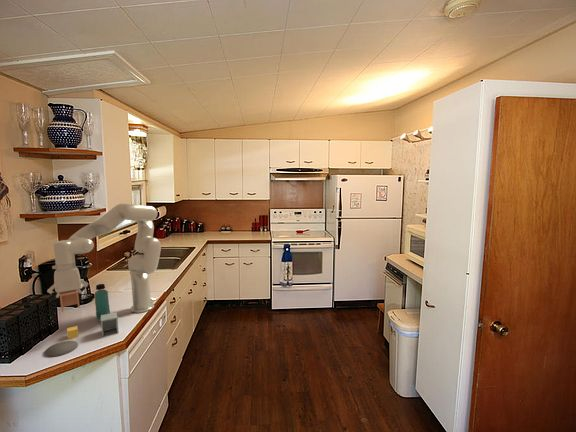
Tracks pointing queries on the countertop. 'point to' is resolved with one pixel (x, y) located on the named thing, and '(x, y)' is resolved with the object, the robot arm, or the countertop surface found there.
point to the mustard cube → (72, 332)
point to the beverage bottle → (101, 301)
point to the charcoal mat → (61, 348)
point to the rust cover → (69, 298)
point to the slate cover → (109, 322)
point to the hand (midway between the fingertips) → (70, 302)
